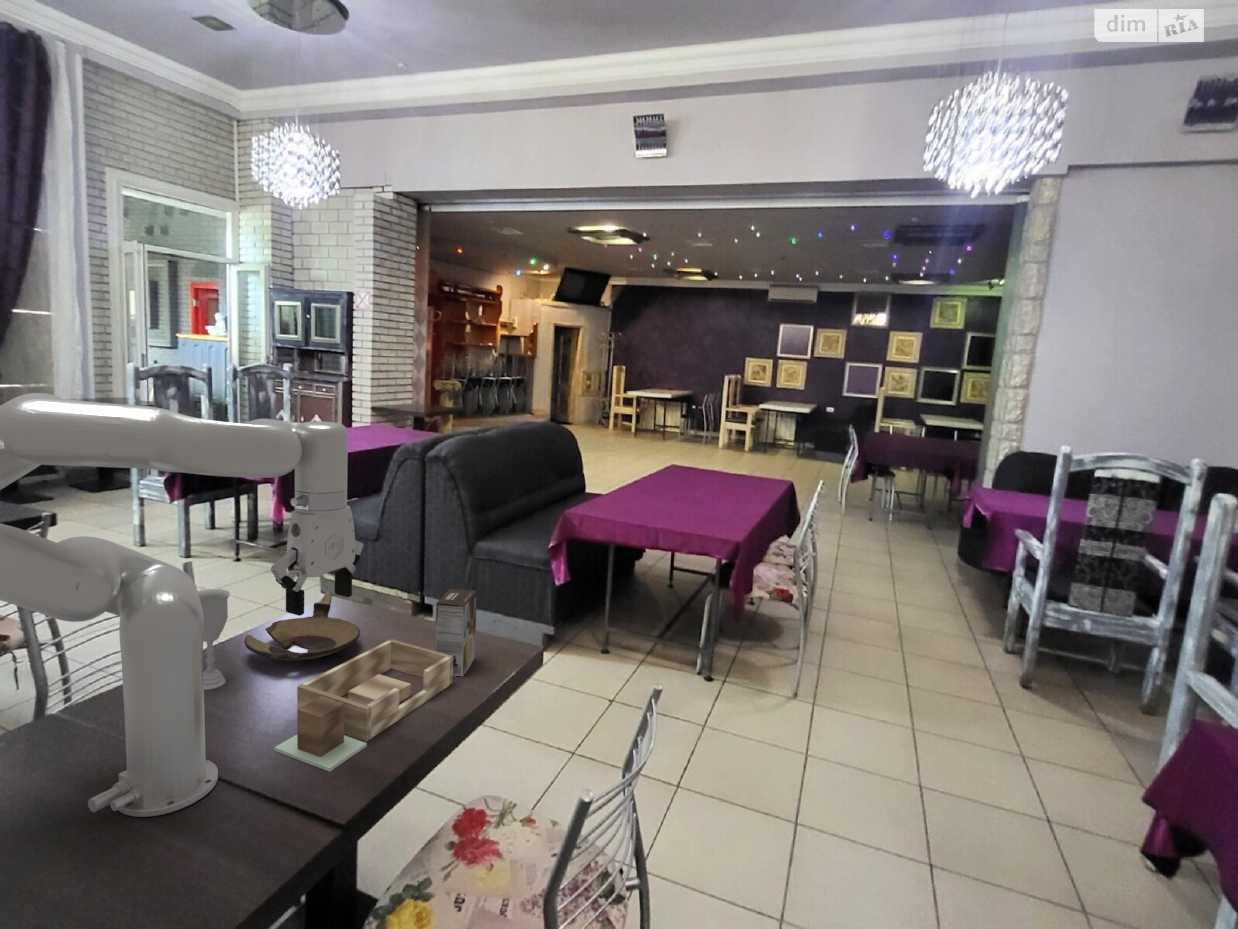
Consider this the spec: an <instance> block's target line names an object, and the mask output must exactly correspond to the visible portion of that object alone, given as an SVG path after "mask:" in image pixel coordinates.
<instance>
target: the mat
mask: <svg viewBox="0 0 1238 929" xmlns="http://www.w3.org/2000/svg"><path fill="white" fill-rule="evenodd" d="M367 747H368V743H367V742H366V741H363V740H360V739H357V738H354V737H351V736H348V735H346V734H344V742H343V743H342V744H340V745H339V746H337V747H336V748H334V749H333V750H331V751H330V752H328V753H327V754H325V755H324V756H322V757H318V756H315V755H312V754H310V753H307V752H304V751H301V750H299V749H297V734H295V735H293V736H291V737H290V738H288V739H286V740H285V741H283V742H281V743H280V744H278V745H276V746H274V748H273V749H274V751H275V752H277V753H280V754H282V755H285V756H287V757H290V758H293V759H295V760H298V761H299V762H303V763H304V764H308V765H311V766H313V767H316V768H318V769H322V770H324V771H326V772H332V771H333V770H335V769H336V768H337V767H339V766H340V765H342V764H344V763H345V762H346V761H348V760H349V759H351V758H352V757H353V756H355V755H357V754H358V753H359V752H361V751H362V750H364V749H366V748H367Z"/></svg>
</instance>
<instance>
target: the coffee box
mask: <svg viewBox="0 0 1238 929" xmlns="http://www.w3.org/2000/svg"><path fill="white" fill-rule="evenodd" d="M477 595H478V590H474V589H473V590H471V589H470V590H469V589H458V588H457V589H454V588H449V589H448V590H447V591H446V592H445V593H444V594H443V596H442V597H441V598H439V600H438V601H437V602H436V606H435V607H436V610H435V611H436V613H435V614H436V616H435V649H434V651H437V652H440V653H444V654H448V655H451V656H453V677H456V676H461V677H460V678H463V677H464V676H465V675H466V673H467V672H468V670H469V669H470V667H471V665H472V663H473V662H474V660H475V659H476V656H475V655H476V632H477V631H476V630H477V629H476V628H477V625H476V624H477V599H478V598H477ZM466 671H467V672H466ZM464 674H465V675H464ZM462 676H463V677H462Z"/></svg>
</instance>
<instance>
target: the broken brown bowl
mask: <svg viewBox="0 0 1238 929" xmlns="http://www.w3.org/2000/svg"><path fill="white" fill-rule="evenodd" d="M332 598H333V593H332V592H331V591H327V592H325V593H324V595H323V597H322V598H321V600H319V601H318V602H314V603H313V612H312V616H306V617H295V618H290V619H289V618H288V619H287V618H286V619H283V620H277V621H274V622H272V624H271V625H269V626H268V627H267V626H266V628H265V631H266V633H267V634H268V636H270V637H271V639H272V640H273V641H274V642H275V643H276V644H277V645H278V646H279V647H278V646H276V645H272V644H269V643H266V642H264V641H261V640H259V639H257V638H256V637H253V636H252V635H249V634H247V635H246V636H245V637H244V640H243V643H244V645H245V647H246V649H247V650H248V651H250V652H252V653H254V654H256V655H258V656H261V657H264V658H269V659H272V660H278V661H279V660H282V661H293V662H294V661H298V662H299V661H308V660H315V659H318V658H323V657H326V656H329V655H332V654H334V653H336V652H339V651H341V650H344V649H345V648H347V647H349V646H352V645H353V644H354V643H355V642H356V641H357V640H358V639H359V638H360V636H361V630H360V628H359V626H357V625H355V624H354V623H352V622H349V621H347V620H344V619H341V618H335V617H329V613H330V610H331V606H332ZM293 644H296V645H297V646H298V647H301V648H303V649H307V652H297V651H292V650H289V648H290V647H292V646H293Z"/></svg>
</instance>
